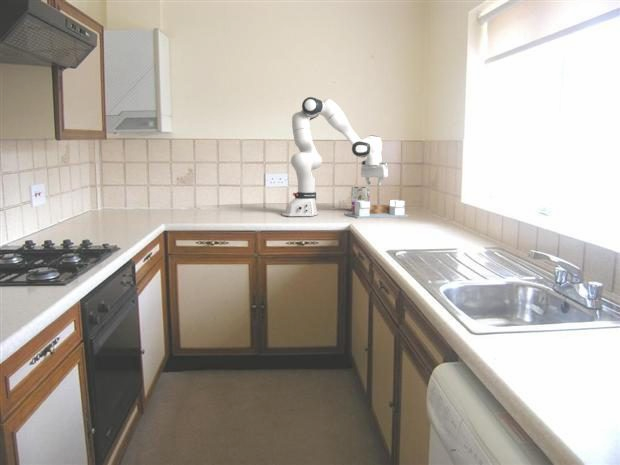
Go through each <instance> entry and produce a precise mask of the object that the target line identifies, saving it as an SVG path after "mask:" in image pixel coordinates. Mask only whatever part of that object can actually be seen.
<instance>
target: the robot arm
mask: <svg viewBox="0 0 620 465" xmlns="http://www.w3.org/2000/svg"><path fill="white" fill-rule="evenodd" d="M319 115H321V116H322V117H324V119H325V120H326V121H327V123H328V124H329V125H330V126H331V127H332V128H333V129H334V130H336V131H337V132H340V133H341V134H342V135H343V136H344V137H345V138H346V140H348V141H349V143H350V144H351V146H352V147H351V151H352V154H353V155H354V156H356V157H358V158H366V157H367V158H366V159H364V160H362V161H361V162H360V166H361V167H360V176H361V177H362V178H364V179H365V181H366V185H371V181H370V178H378V182H377V185H378V186H382V182H383V181H384V178H388V176H389V172H388V171H389V168H388V164H387V163H386V162H385V161H383V159H382V157H383V156H382V151H383V142H382V139H381V137H380V136H378V135H374V134H373V135H372V134H371V135H370V134H369V135H368V136H366V138H363V139H361V137H359V135H358V134H357V133H356V132H355V131H354V129H353V128H352V125H351V124H350V122H349V120H348V118H347V116H346V114H345V113H344V111H343V110H342V108H340V106H339V105H338V104H337V103H336V102H335V101H334V100H332V99H331V98H326V99H324V100H323V101H322V100H320V99H319V98H315V97H311V96H310V97H306V98H305V99H304V100H303V101H302V104H301V110H300V111H297V112H295V113H294V114H293V115H292V117H291V127H292V134H293V140H294V145H295V146H296V147H297V148H298V150H299V152H297V153H294V154H293V155H292V156H291V157H290V158H291V159H290V164H291V166H292V167H293V169H294V171H295V174H296V178H297V192H293V193H292V196H294V199H292V200H290V201H289V203H287V204H286V206H285V211H284V212H282V213H281V215H282V216H285V217H314V216H318V215H319V214H318V210H317V204H316V203H317V192H316V187H317V185H316V178H315V176H314V175H313V172H312V170H316V169H318V168H320V167H321V166H322V165H323V158H322V155H321V154H320V153H318V150H317V148H316V146H315V144H314V139H313V137H312V130H311V124H310V122H311V121H312V120H314V119H316V118H317V117H319ZM382 161H383V162H382Z"/></svg>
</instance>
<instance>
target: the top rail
mask: <svg viewBox="0 0 620 465" xmlns="http://www.w3.org/2000/svg"><path fill="white" fill-rule="evenodd" d="M352 213H353V214H355V207H354V206H353V212H352ZM382 213H390V206H389V204H370V212H369V214H382Z"/></svg>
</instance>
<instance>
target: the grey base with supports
mask: <svg viewBox="0 0 620 465" xmlns="http://www.w3.org/2000/svg"><path fill="white" fill-rule="evenodd" d="M370 205H371V201H369V202H365V201H355V203H354V207H355V214H353V212H344V214H343V215H344V216H347V217H351V218H355V219H377V218H378V219H379V218H381V219H382V218H403V217H404V218H408V217H409V214H406V213H405V210H406V209H405V207H406V200H401V199H390V200H389V203H388V205H389V206H390V213H382V214H369V212H370Z"/></svg>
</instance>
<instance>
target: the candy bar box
mask: <svg viewBox="0 0 620 465" xmlns="http://www.w3.org/2000/svg"><path fill="white" fill-rule="evenodd" d="M370 191H371V190H370V186H352V187H351V213H353V206H354V203H355V201H365V202H370V194H371V193H370Z"/></svg>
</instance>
